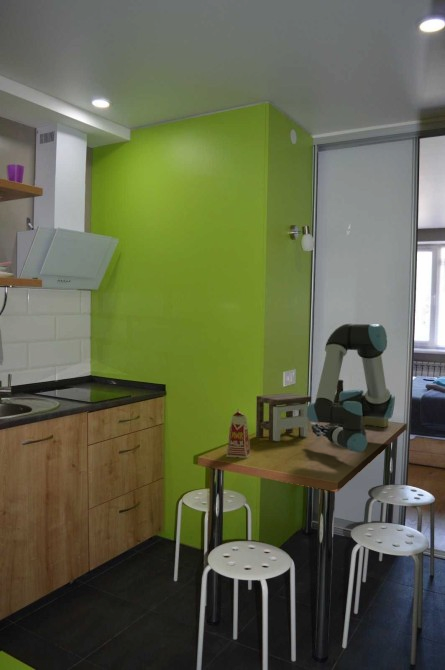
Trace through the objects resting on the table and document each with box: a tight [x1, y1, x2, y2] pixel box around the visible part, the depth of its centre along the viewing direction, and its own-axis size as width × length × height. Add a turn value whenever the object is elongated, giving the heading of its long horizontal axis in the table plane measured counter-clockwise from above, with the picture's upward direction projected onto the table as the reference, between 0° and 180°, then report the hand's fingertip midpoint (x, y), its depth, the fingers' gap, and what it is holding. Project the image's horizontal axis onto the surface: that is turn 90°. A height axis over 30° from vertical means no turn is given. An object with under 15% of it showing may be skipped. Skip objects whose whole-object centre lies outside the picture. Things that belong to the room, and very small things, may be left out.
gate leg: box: [272, 402, 309, 442], centre depth 256 cm, size 2×20×16 cm, turn 126°
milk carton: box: [225, 408, 251, 459], centre depth 225 cm, size 9×9×20 cm
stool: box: [255, 392, 312, 442], centre depth 261 cm, size 16×22×20 cm
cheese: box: [363, 417, 389, 428], centre depth 295 cm, size 22×10×15 cm, turn 59°
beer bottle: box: [333, 379, 344, 405], centre depth 301 cm, size 8×8×24 cm
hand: (311, 425), depth 244 cm, fingers closed
